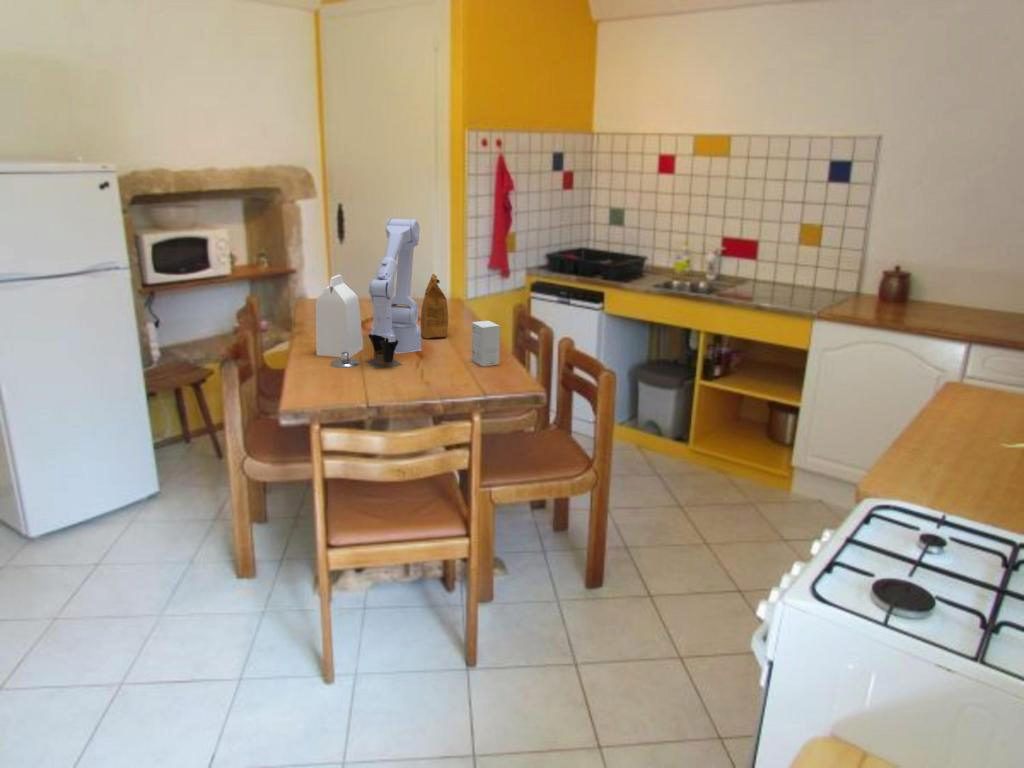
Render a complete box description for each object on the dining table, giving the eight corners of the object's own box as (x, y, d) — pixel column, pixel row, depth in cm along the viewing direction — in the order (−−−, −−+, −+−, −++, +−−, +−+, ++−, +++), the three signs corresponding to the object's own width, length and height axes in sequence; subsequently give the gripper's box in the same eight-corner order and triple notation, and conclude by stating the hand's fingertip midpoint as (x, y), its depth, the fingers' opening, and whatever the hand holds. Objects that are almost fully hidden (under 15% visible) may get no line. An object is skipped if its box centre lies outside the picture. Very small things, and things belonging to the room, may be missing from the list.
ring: (388, 359, 243) (388, 349, 242) (396, 364, 238) (395, 353, 237) (372, 361, 240) (371, 351, 239) (379, 366, 235) (378, 355, 234)
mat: (391, 359, 245) (391, 357, 245) (402, 366, 238) (402, 364, 238) (365, 363, 241) (365, 361, 240) (376, 370, 234) (376, 368, 233)
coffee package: (446, 330, 283) (446, 272, 276) (449, 339, 271) (448, 279, 264) (420, 331, 281) (419, 273, 274) (421, 339, 270) (420, 279, 263)
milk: (349, 359, 244) (345, 280, 236) (316, 356, 246) (311, 278, 238) (363, 350, 255) (360, 274, 247) (332, 347, 257) (327, 272, 249)
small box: (499, 364, 243) (500, 325, 238) (482, 367, 240) (482, 327, 235) (488, 358, 249) (488, 320, 245) (471, 360, 246) (471, 321, 242)
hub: (353, 360, 244) (353, 347, 242) (364, 367, 236) (363, 354, 235) (327, 363, 239) (326, 351, 238) (336, 371, 232) (336, 358, 231)
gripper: (361, 313, 238) (363, 354, 243) (379, 323, 227) (381, 366, 231) (382, 311, 242) (383, 351, 246) (401, 321, 230) (402, 363, 235)
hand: (383, 358), depth 239 cm, fingers open, 7 cm apart
